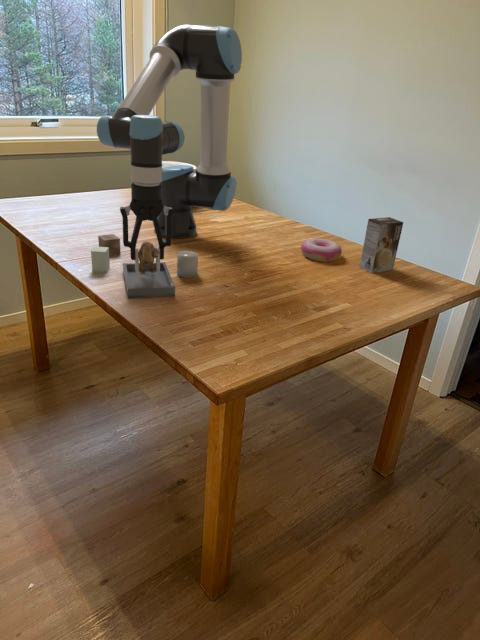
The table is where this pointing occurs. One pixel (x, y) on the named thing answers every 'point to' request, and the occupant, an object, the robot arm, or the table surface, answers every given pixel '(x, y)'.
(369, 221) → the coffee box
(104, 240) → the walnut block
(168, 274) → the slate tray
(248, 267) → the table surface
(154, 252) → the lion figurine
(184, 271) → the pale grey rounded cylinder
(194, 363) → the table surface
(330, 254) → the donut
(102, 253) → the sage block
